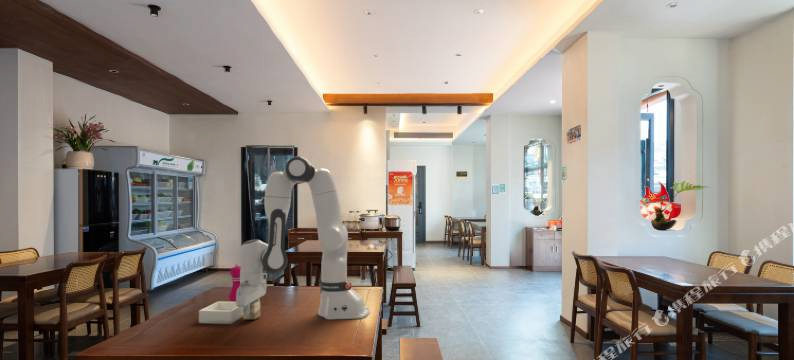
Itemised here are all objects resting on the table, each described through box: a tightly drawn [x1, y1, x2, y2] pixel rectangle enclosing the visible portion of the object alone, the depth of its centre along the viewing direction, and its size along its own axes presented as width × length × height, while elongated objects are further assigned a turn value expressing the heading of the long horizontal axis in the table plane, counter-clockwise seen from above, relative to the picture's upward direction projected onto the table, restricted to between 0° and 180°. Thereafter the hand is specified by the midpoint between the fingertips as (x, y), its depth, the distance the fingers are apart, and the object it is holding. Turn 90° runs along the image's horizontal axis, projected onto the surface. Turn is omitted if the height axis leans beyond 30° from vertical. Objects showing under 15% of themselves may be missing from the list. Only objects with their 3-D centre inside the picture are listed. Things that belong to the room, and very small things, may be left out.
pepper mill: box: [228, 262, 241, 302], centre depth 191 cm, size 7×7×20 cm
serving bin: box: [198, 300, 243, 325], centre depth 173 cm, size 14×14×5 cm
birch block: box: [242, 300, 261, 320], centre depth 171 cm, size 5×5×6 cm
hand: (251, 311), depth 171 cm, fingers closed on birch block, 5 cm apart
